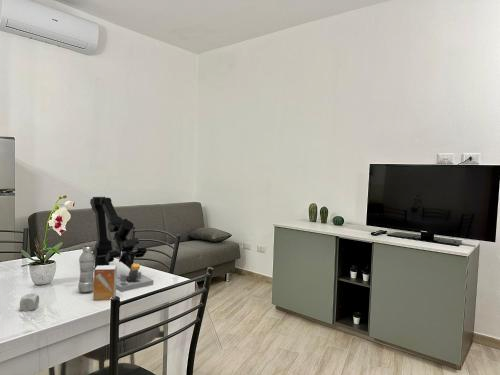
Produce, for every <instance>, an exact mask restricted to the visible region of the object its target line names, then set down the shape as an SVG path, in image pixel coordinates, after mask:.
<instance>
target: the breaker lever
mask: <svg viewBox="0 0 500 375" xmlns="http://www.w3.org/2000/svg"><path fill="white" fill-rule="evenodd" d="M140 268H141V265H140V264H139V263H138V262H137V263H133V264H132V265H131V269H129V273H128V275H126V276H127V278H126V281H127V282H129V283H134V282H135V280H136V278H135V277H136V275H137V272H138V271H139V270H140Z"/></svg>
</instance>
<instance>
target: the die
mask: <svg viewBox="0 0 500 375" xmlns="http://www.w3.org/2000/svg"><path fill="white" fill-rule="evenodd" d="M39 303H40V297H39V295H38V294H37V293H27V294H24V295H23V296H21V297H20V301H19V309H20V310H21V311H23V312H30V310H31V311H35V310H37V309H38V307H39ZM34 309H35V310H34Z"/></svg>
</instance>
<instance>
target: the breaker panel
mask: <svg viewBox="0 0 500 375" xmlns="http://www.w3.org/2000/svg"><path fill="white" fill-rule="evenodd" d="M127 276H128V275H126V274H125V273H120V276H117V278H116V291H119V292H121V293H122V292H126V291H131V290H136V289H141V288H144V287H149V286H153V285H154V279H151V278H149V277H147V276H145V275H144V274H142V272H141V271H139V270H138V272H137V275H136V277H135V278H136V280H135V282H131V283H129V282H127V281H126V278H127Z"/></svg>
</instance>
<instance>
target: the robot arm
mask: <svg viewBox="0 0 500 375" xmlns="http://www.w3.org/2000/svg"><path fill="white" fill-rule="evenodd" d="M89 201H90V202H89V204H90V206H91V207H90V208H91V210H92V211H93V212H94V213H95V221H96V222H95V223H96V233H97V234H96V236H97V241H96V242H95V244H94V249H93V250H92V253H93V255H94V256H95V262H94V269H95V268H96V267H97V266H104V265H110V263H112V262H114V260H115V258H116V259H117V258H118V259H119V260H118V262H119V263H122V264H123V265H125V266H126V267H127V268H129V270H131V265H132V264H134V263H135V262H134V260H135V258H143V257H145V254H147V252H148V249H147V248H146V246H138V247H137V248H136V249H135V247H136V246H137V245H139V244H140V239H139V238H138V237H134V238H130V239H129V238H128V236H129V235H130V233H131V232H132V230H133V229H134V223H133V222H132V221H130V220H128V218H122V217H121V216H119V215H118V213H117V211H116V209H115V207H114V205H113V203H112V199H111V197H106V196H92V198H91V199H90V200H89ZM106 218H107V219H108V223H107V221H106V220H107V219H106ZM107 229H108V231H109V232H110V233H114V234H113V236H112V240H114V241H115V244H116V249H114V250H113V246H112V241H111V240H109V239H108V232H107ZM134 249H135V250H134Z"/></svg>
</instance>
